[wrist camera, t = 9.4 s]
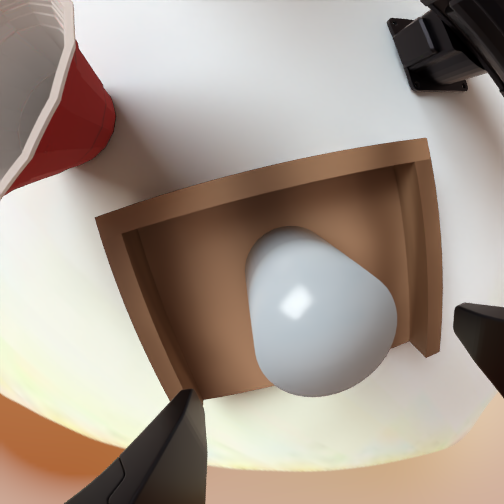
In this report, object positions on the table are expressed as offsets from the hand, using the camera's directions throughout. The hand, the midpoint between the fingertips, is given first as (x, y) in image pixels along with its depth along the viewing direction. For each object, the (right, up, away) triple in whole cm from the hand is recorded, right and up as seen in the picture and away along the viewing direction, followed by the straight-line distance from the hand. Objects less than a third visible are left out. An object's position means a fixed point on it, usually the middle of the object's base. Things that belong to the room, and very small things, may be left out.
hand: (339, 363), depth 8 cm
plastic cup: (-14, +13, +9) cm, 21 cm away
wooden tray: (0, +2, +12) cm, 12 cm away
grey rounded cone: (0, +2, +9) cm, 9 cm away
